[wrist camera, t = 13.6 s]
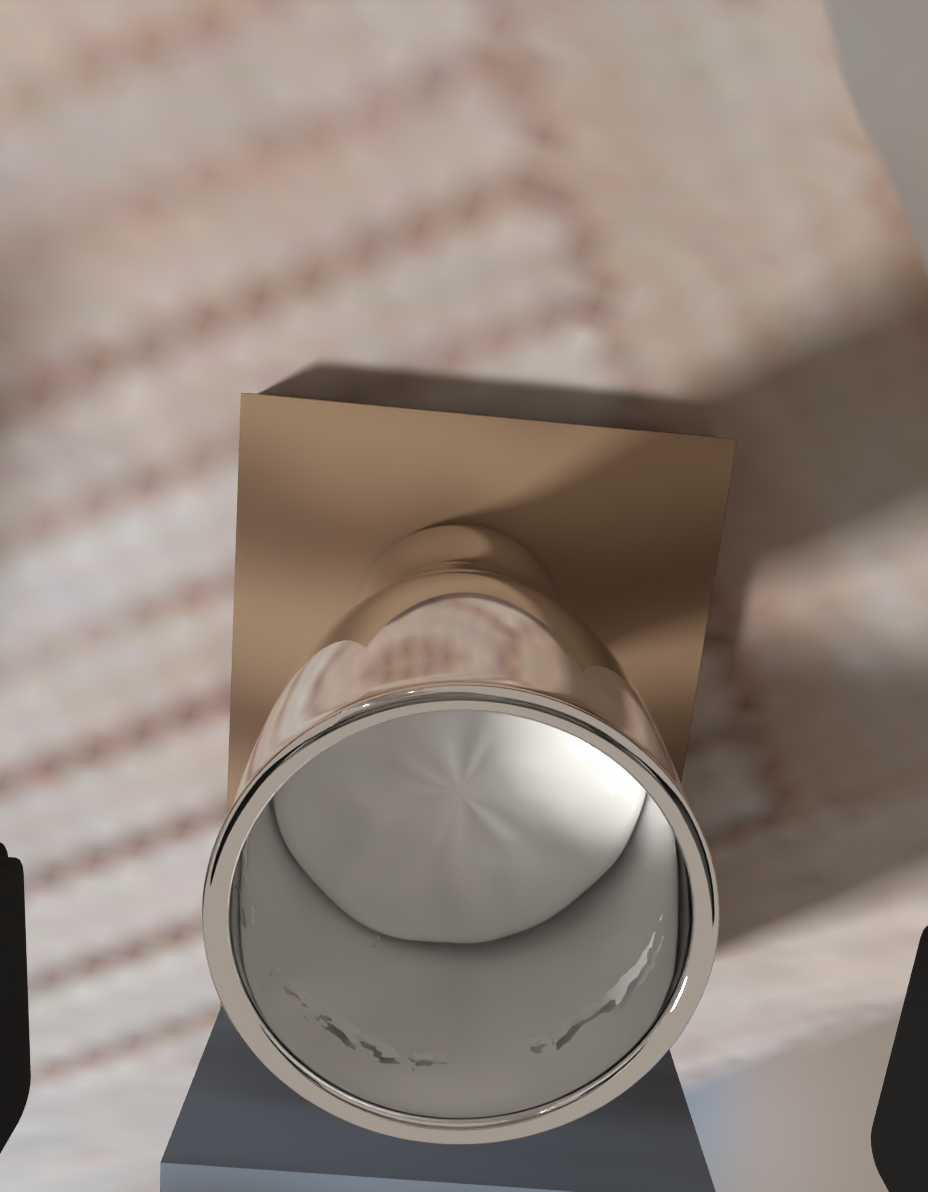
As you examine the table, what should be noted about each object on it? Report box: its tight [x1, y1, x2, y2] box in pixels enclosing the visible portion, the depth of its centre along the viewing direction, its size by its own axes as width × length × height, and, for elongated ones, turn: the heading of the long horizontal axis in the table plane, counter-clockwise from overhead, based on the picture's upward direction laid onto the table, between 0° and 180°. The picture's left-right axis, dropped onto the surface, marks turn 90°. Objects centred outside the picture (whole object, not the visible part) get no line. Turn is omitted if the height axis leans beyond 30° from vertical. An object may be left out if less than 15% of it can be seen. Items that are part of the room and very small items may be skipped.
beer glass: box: [202, 524, 720, 1145], centre depth 18 cm, size 7×7×15 cm
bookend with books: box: [160, 393, 737, 1192], centre depth 20 cm, size 20×14×16 cm
